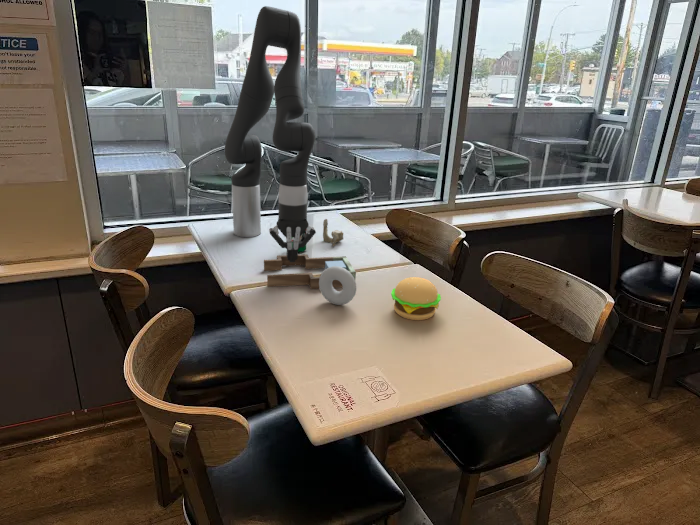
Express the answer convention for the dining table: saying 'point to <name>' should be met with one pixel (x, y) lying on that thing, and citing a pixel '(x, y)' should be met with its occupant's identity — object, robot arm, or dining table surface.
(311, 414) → the dining table surface
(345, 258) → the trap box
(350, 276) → the donut
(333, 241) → the bone
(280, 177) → the robot arm
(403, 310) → the toy cheeseburger
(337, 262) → the block
